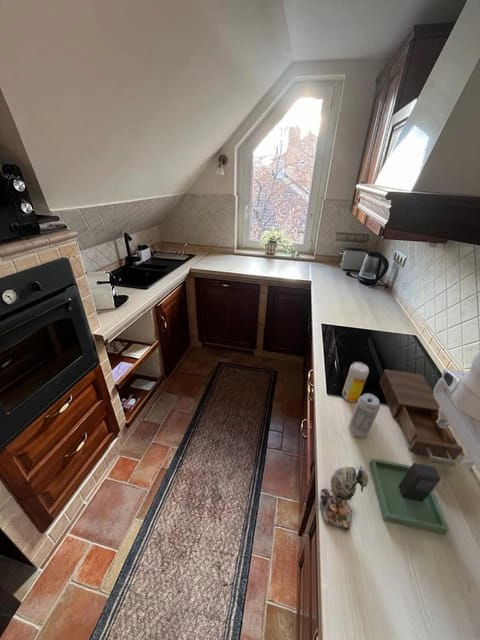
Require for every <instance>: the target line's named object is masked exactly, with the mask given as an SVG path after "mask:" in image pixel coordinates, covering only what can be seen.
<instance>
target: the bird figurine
mask: <svg viewBox="0 0 480 640" xmlns="http://www.w3.org/2000/svg"><path fill="white" fill-rule="evenodd" d="M356 469H357V470H358V472H357V470H356ZM368 483H369V475H368V472H367V470H366V468H364V467H363V466H362V465H360V466H359V467H358V466H356V468H355V467H353V466H343V467H340V468H337V469H336V470H335V471H334V472H333V473H332V475H331V477H330V487H331V489H328V488H322V489H321V491H320V497H319V503H320V505H321V507H322V508H321V511H322V512H323V513H322V516H323V520H324V522H326V523H327V524H330V525H331V526H333V525H334V526H337V527H338V528H340V529H343V530H344V531H345V532H347V531H349V530H350V522H351V518H352V515H353V514H352V511H353V510H352V508H351V506H350V504H349V502H348V501H350V500H352V498H353V497H354V496H355V494H356V491H357V485H360V487H361V488H360V492H361V493H364V488H366V487H368V486H367V485H368Z"/></svg>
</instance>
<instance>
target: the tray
mask: <svg viewBox="0 0 480 640" xmlns="http://www.w3.org/2000/svg"><path fill="white" fill-rule="evenodd" d="M411 466H412V465H408V464H405V463H404V464H402V463H398V462H393V461H388V460H383V459H378V458H370V461H369V468H370V471H371V476H372V480H373V483H374V488H375V492H376V497H377V501H378V504H379V509H380V513H381V518H382V520H383V521H382V522H387V523H391V524H396V525H400V526H404V527H409V528H414V529H417V530H423V531H425V532H426V531H427V532H431V533H435V532H436V533H435V534H439V533H440V534H439V535H446V533H447V532H448V531H449V528H448V525H447V522H446V521H445V517H444V516H443V513H442V510H441V508H440V505H439V504H438V501H437V499H436V496H435V494H434V492H433V490H432V491H431V492H430V494H429V495H428V496H427V497H426V499H425V500H424V501H423V502H422V501H417V500H412V499H407V498H403V497H402V495H401V492H400V488H399V484H400V483H401V481H402V480H403V478H404V477H405V475H406V474H407V472H408V471H409V469H410V468H411Z"/></svg>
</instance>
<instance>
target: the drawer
mask: <svg viewBox="0 0 480 640" xmlns="http://www.w3.org/2000/svg"><path fill="white" fill-rule="evenodd" d="M397 415H398V417H399V419H398V420H399V423H400V425H401V427H402V430H403V432H404V434H405V437H406V439H407V442H408V444H409V446H408V448H407V449H408V452H410V453H415V454H419V455H424V456H428V460H429V461H430V463H436V464H441V465H444V466H445V465H446V466H450V467H451V466H452V467H456V465H457V463H456V460H457V459H458V457H459V456H460V454H461V453H462V451H464V448H463V446H461V445H458V444H455V443H456V440H455V438H454V436H453V435H452V433H451V431H450V430H449V427H448V428H446V429H444V428H440V427H439V426H438V424H437V422H436V421H437V420H438V418H439V413H438V412H437V411H431V410H425V409H419V408H412V407H406V406H401V407H400V409H399V411H398V413H397Z"/></svg>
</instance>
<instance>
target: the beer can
mask: <svg viewBox="0 0 480 640" xmlns="http://www.w3.org/2000/svg"><path fill="white" fill-rule="evenodd" d="M369 373H370V370H369V366H368V364H365V363H364V362H361V361H354V362H353V363H352V364H351V365H350V367H349V370H348V372H347V376H346V379H345V383H344V386H343V388H342V391H341V395H342V397H343V398H344V400H346V401H347V402H349V403H355V402H358V400H359V398H360V397H361V396H362V395H361V394H362V392H363V389H364V386H365V384H366V382H367V378H368V376H369Z"/></svg>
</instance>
